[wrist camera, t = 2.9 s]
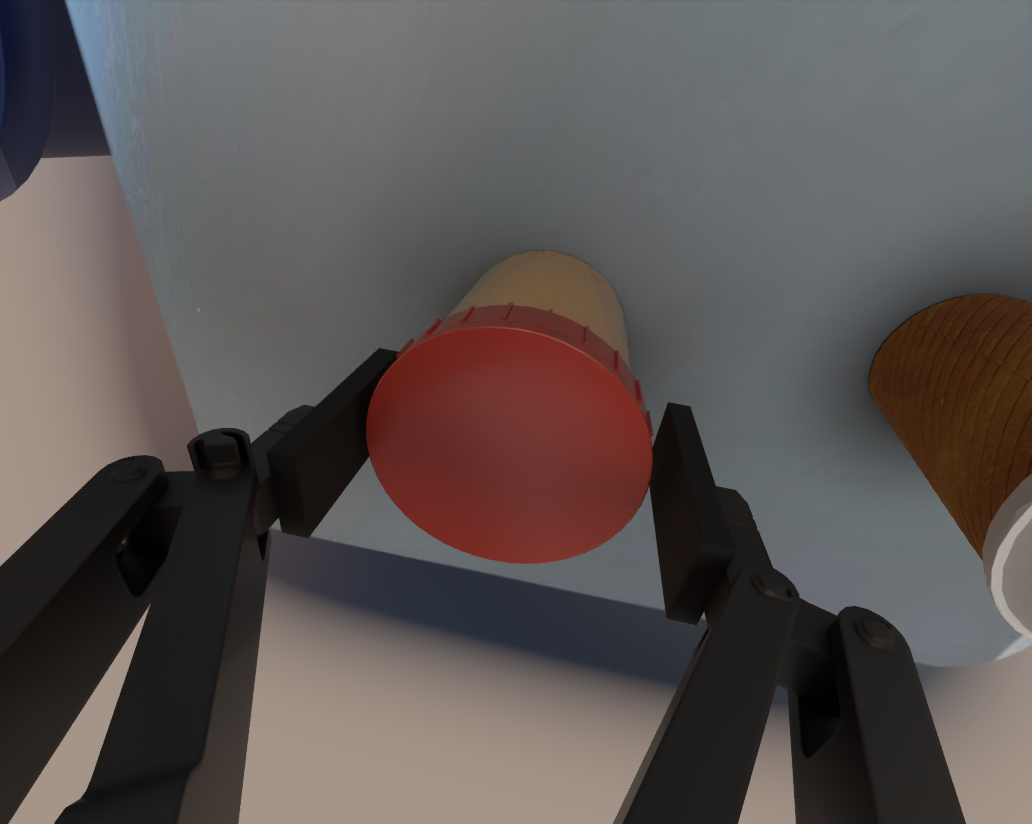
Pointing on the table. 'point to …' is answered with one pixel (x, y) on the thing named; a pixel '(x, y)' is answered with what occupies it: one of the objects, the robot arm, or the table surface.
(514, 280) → the honey jar
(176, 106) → the table surface
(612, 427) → the jar lid
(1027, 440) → the disposable coffee cup
